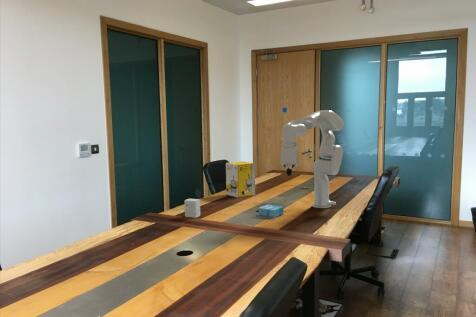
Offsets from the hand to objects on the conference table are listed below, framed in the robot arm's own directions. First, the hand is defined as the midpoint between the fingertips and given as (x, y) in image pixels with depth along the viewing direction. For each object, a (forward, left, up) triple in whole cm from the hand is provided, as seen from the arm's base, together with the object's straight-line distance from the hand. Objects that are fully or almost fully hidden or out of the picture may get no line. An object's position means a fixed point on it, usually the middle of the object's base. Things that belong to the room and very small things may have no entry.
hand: (289, 175), depth 241 cm
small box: (+57, +16, -26) cm, 65 cm away
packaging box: (+49, -55, -26) cm, 78 cm away
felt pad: (+14, +2, -25) cm, 29 cm away
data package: (+6, +2, -23) cm, 23 cm away
